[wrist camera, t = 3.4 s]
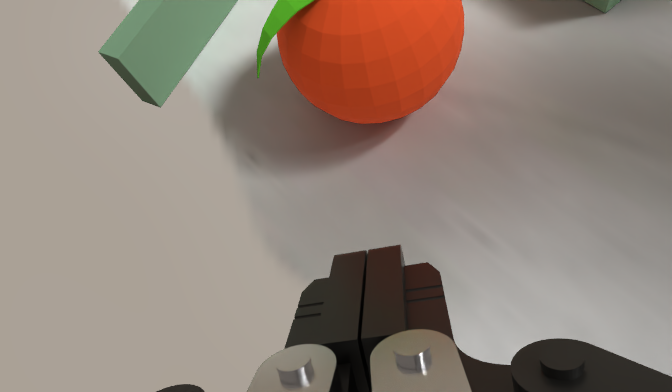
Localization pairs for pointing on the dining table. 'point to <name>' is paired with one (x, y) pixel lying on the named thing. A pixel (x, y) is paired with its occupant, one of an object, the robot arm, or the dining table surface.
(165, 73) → the putting stall
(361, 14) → the clementine
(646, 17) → the dining table surface
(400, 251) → the robot arm
